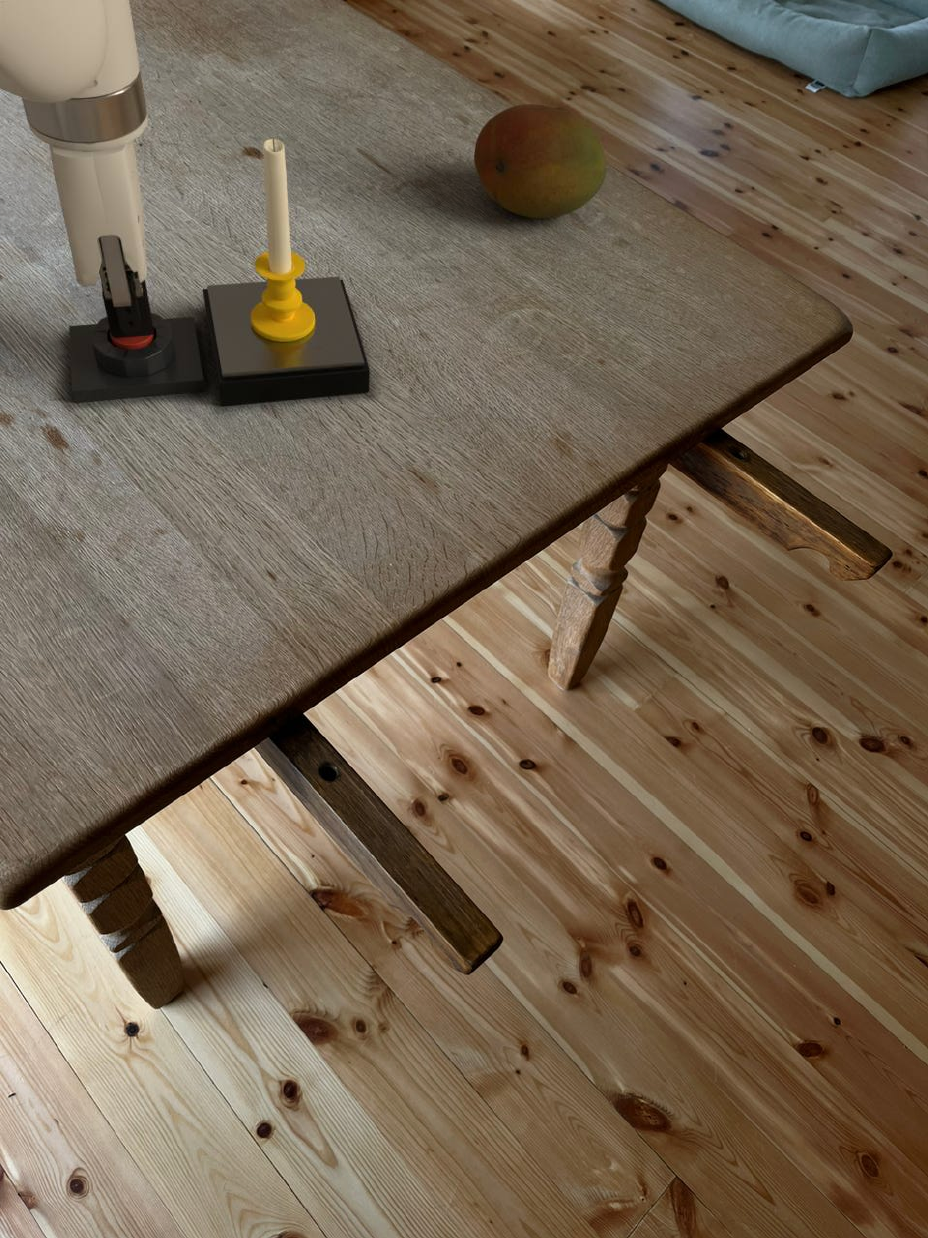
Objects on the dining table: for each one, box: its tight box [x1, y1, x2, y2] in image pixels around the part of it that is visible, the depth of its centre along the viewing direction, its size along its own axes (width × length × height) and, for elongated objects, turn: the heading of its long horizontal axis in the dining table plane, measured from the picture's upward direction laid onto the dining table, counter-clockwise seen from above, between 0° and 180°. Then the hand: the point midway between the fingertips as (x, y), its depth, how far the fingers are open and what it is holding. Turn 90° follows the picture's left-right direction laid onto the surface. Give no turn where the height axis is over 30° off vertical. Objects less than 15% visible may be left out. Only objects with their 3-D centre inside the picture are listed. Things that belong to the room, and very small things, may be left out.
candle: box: [250, 136, 315, 342], centre depth 76 cm, size 5×5×16 cm
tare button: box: [110, 332, 154, 350], centre depth 80 cm, size 3×3×2 cm
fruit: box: [473, 103, 607, 219], centre depth 98 cm, size 12×13×10 cm
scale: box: [201, 276, 371, 407], centre depth 84 cm, size 12×12×3 cm
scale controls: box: [68, 312, 206, 404], centre depth 81 cm, size 10×8×3 cm
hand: (132, 329), depth 80 cm, fingers closed
